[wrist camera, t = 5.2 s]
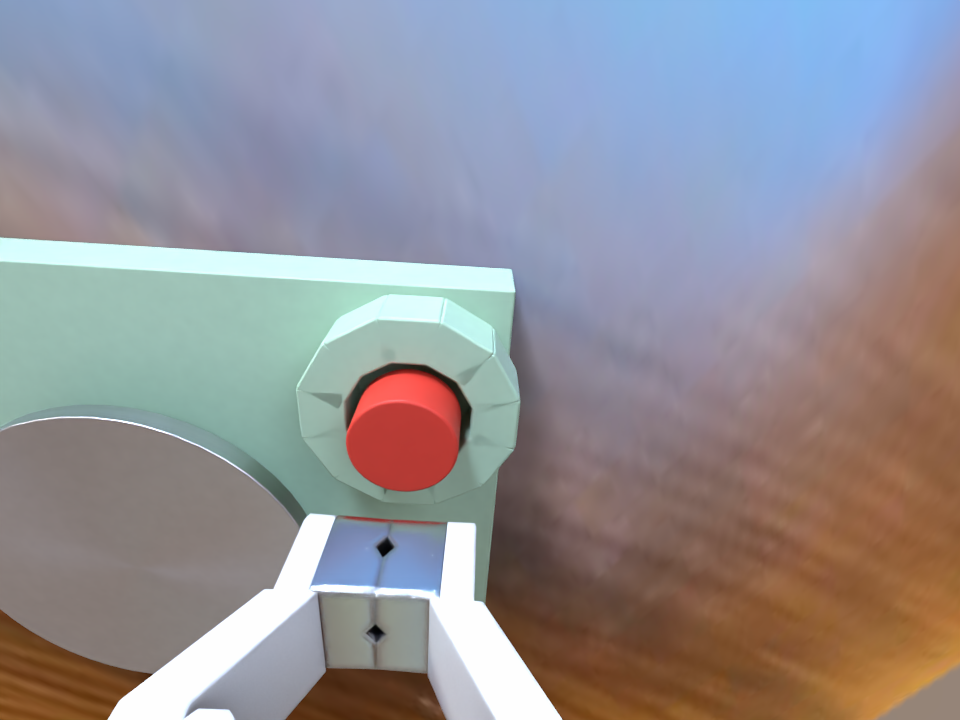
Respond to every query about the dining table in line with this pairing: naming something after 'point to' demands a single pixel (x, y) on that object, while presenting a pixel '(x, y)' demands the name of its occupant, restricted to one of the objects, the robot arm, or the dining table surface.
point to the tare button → (405, 431)
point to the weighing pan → (133, 531)
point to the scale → (269, 358)
